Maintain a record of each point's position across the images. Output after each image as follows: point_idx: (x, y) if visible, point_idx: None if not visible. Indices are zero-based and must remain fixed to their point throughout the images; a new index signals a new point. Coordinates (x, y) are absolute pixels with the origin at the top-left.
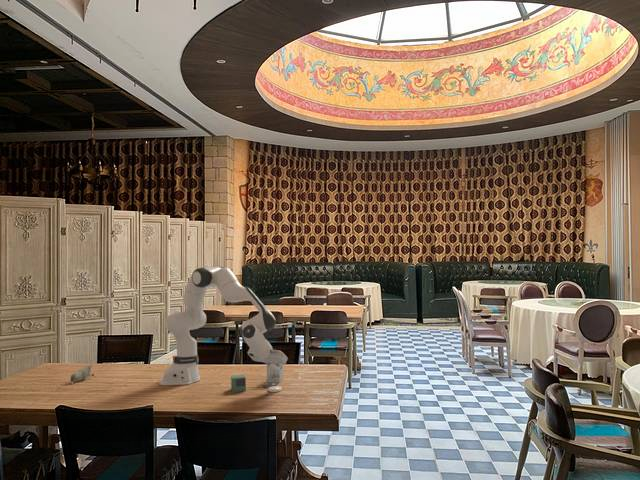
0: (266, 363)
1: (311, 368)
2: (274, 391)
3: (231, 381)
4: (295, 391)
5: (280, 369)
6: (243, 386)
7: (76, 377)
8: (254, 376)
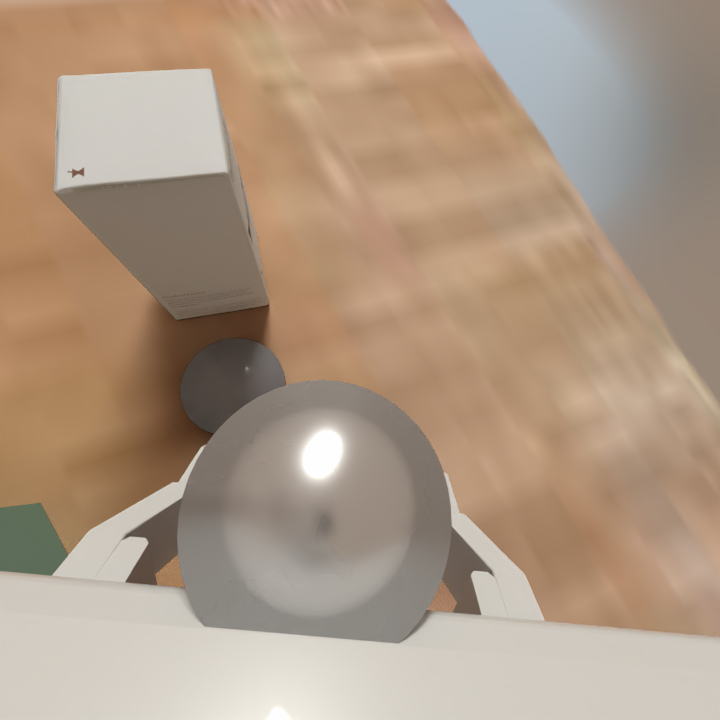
0: (177, 554)
1: (312, 24)
2: None
3: None
4: (470, 452)
5: (250, 227)
6: None
7: None
8: (17, 206)
